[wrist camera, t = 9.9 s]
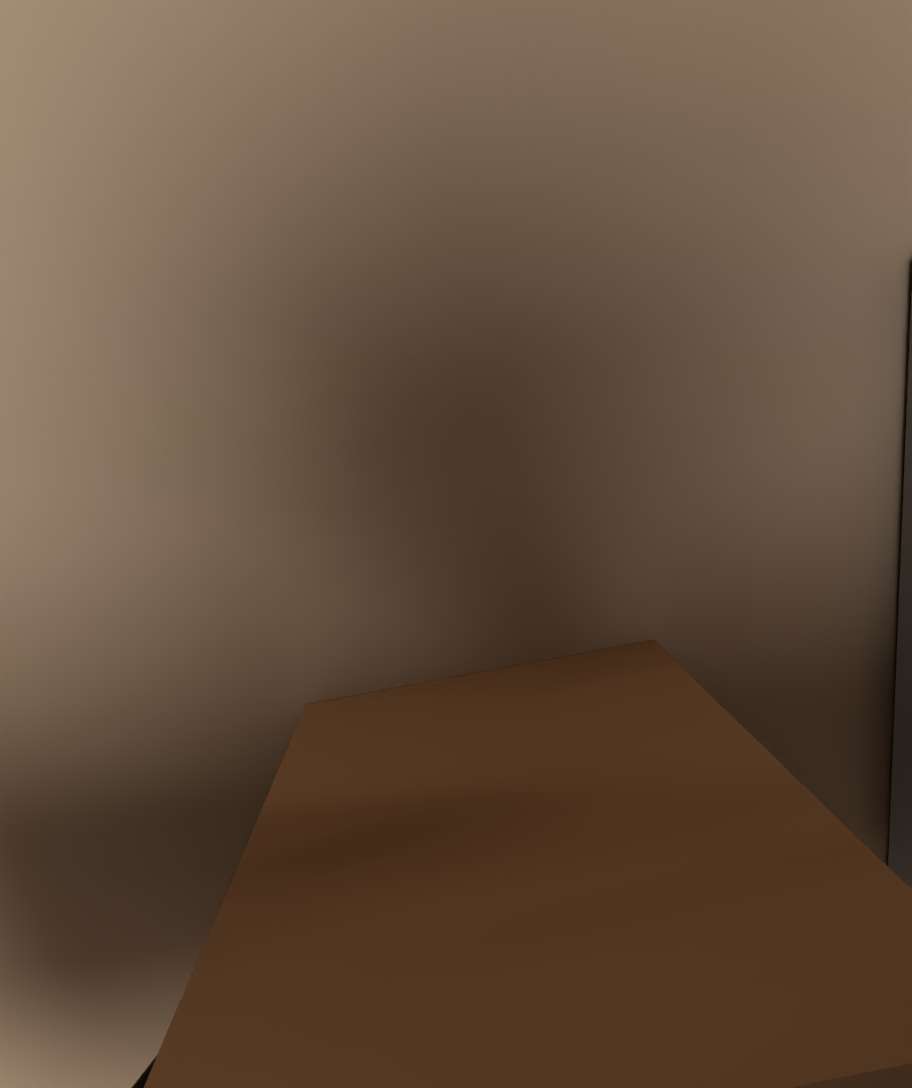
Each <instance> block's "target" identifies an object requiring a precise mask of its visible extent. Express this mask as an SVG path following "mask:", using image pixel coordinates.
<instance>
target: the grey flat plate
mask: <svg viewBox="0 0 912 1088" xmlns="http://www.w3.org/2000/svg"><path fill="white" fill-rule="evenodd" d="M888 867H889V868H890V869H891V870H892V871H893V872H894V873H895V874H896V875H897V876H898V877H899V878H900V879H901V880H902V881H903V882H904V883H905V884H907V885H908V886H909V887H910V888H911V889H912V293H911V317H910V342H909V366H908V391H907V415H906V440H905V465H904V489H903V514H902V538H901V563H900V587H899V612H898V636H897V661H896V686H895V710H894V735H893V759H892V784H891V808H890V833H889V857H888Z"/></svg>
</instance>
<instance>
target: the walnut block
mask: <svg viewBox="0 0 912 1088" xmlns="http://www.w3.org/2000/svg"><path fill="white" fill-rule="evenodd" d="M144 1088H912V889H911V888H910V887H909V886H908V885H907V884H905V883H904V882H903V881H902V880H901V879H900V878H899V877H898V876H897V875H896V874H895V873H894V872H893V871H892V870H891V869H890V868H889V867H888V866H887V865H886V864H885V863H884V862H883V861H882V860H881V859H880V858H879V857H878V856H877V855H876V854H874V853H873V852H872V851H871V850H870V849H869V848H868V847H867V846H866V845H865V844H864V843H863V842H862V841H861V840H860V839H859V838H858V837H857V836H856V835H855V834H854V833H853V832H852V831H851V830H850V829H849V828H848V827H847V826H846V825H845V824H843V823H842V822H841V821H840V820H839V819H838V818H837V817H836V816H835V815H834V814H833V813H832V812H831V811H830V810H829V809H828V808H827V807H826V806H825V805H824V804H823V803H822V802H821V801H820V800H819V799H818V798H817V797H816V796H815V795H813V794H812V793H811V792H810V791H809V790H808V789H807V788H806V787H805V786H804V785H803V784H802V783H801V782H800V781H799V780H798V779H797V778H796V777H795V776H794V775H793V774H792V773H791V772H790V771H789V770H788V769H787V768H786V767H785V766H784V765H782V764H781V763H780V762H779V761H778V760H777V759H776V758H775V757H774V756H773V755H772V754H771V753H770V752H769V751H768V750H767V749H766V748H765V747H764V746H763V745H762V744H761V743H760V742H759V741H758V740H757V739H756V738H755V737H754V736H752V735H751V734H750V733H749V732H748V731H747V730H746V729H745V728H744V727H743V726H742V725H741V724H740V723H739V722H738V721H737V720H736V719H735V718H734V717H733V716H732V715H731V714H730V713H729V712H728V711H727V710H726V709H725V708H724V707H723V706H721V705H720V704H719V703H718V702H717V701H716V700H715V699H714V698H713V697H712V696H711V695H710V694H709V693H708V692H707V691H706V690H705V689H704V688H703V687H702V686H701V685H700V684H699V683H698V682H697V681H696V680H695V679H694V678H693V677H691V676H690V675H689V674H688V673H687V672H686V671H685V670H684V669H683V668H682V667H681V666H680V665H679V664H678V663H677V662H676V661H675V660H674V659H673V658H672V657H671V656H670V655H669V654H668V653H667V652H666V651H665V650H664V649H663V648H662V647H660V646H659V645H658V644H657V643H656V642H655V641H654V640H649V641H644V642H639V643H633V644H628V645H622V646H617V647H612V648H606V649H601V650H596V651H590V652H585V653H580V654H574V655H569V656H564V657H558V658H553V659H547V660H542V661H537V662H531V663H526V664H521V665H515V666H510V667H505V668H499V669H494V670H488V671H483V672H478V673H472V674H467V675H462V676H456V677H451V678H446V679H440V680H435V681H430V682H424V683H419V684H413V685H408V686H403V687H397V688H392V689H387V690H381V691H376V692H371V693H365V694H360V695H355V696H349V697H344V698H338V699H333V700H328V701H322V702H317V703H312V704H306V705H305V708H304V710H303V713H302V715H301V717H300V720H299V722H298V724H297V727H296V729H295V731H294V734H293V736H292V739H291V741H290V743H289V746H288V748H287V750H286V753H285V755H284V757H283V760H282V762H281V765H280V767H279V769H278V772H277V774H276V776H275V779H274V781H273V783H272V786H271V788H270V791H269V793H268V795H267V798H266V800H265V802H264V805H263V807H262V809H261V812H260V814H259V817H258V819H257V821H256V824H255V826H254V828H253V831H252V833H251V835H250V838H249V840H248V843H247V845H246V847H245V850H244V852H243V854H242V857H241V859H240V861H239V864H238V866H237V869H236V871H235V873H234V876H233V878H232V880H231V883H230V885H229V887H228V890H227V892H226V895H225V897H224V899H223V902H222V904H221V906H220V909H219V911H218V913H217V916H216V918H215V921H214V923H213V925H212V928H211V930H210V932H209V935H208V937H207V939H206V942H205V944H204V946H203V949H202V951H201V954H200V956H199V958H198V961H197V963H196V965H195V968H194V970H193V972H192V975H191V977H190V980H189V982H188V984H187V987H186V989H185V991H184V994H183V996H182V998H181V1001H180V1003H179V1006H178V1008H177V1010H176V1013H175V1015H174V1017H173V1020H172V1022H171V1024H170V1027H169V1029H168V1032H167V1034H166V1036H165V1039H164V1041H163V1043H162V1046H161V1048H160V1050H159V1053H158V1055H157V1058H156V1060H155V1062H154V1065H153V1067H152V1069H151V1072H150V1074H149V1076H148V1079H147V1081H146V1084H145V1086H144Z"/></svg>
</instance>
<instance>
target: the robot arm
mask: <svg viewBox="0 0 912 1088" xmlns="http://www.w3.org/2000/svg"><path fill="white" fill-rule="evenodd" d="M156 1058H157V1056H156V1057H155V1059H154V1060H153V1061H152V1062H151V1064H150V1065H149V1066H148V1068H147V1069H146V1070H145V1071H144V1073H143V1074H142V1075H141V1077H140V1078H139V1079H138V1080H137V1082H136V1083H135V1084H134V1086H133V1087H132V1088H144V1086H145V1084H146V1081H147V1079H148V1076H149V1074H150V1072H151V1069H152V1067H153V1065H154V1062H155V1060H156Z"/></svg>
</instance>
